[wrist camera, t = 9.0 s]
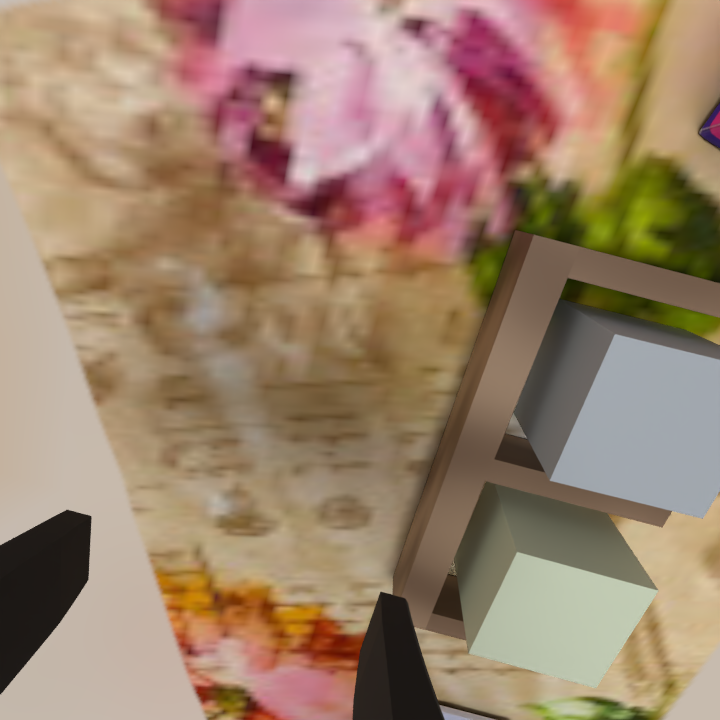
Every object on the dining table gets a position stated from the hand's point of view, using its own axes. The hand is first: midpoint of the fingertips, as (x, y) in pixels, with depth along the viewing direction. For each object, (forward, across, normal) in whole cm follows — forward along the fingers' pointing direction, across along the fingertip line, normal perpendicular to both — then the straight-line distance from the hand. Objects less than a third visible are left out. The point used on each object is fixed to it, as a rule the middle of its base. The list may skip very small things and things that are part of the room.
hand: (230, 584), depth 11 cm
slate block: (+10, -11, -5) cm, 15 cm away
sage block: (+10, -11, +3) cm, 15 cm away
